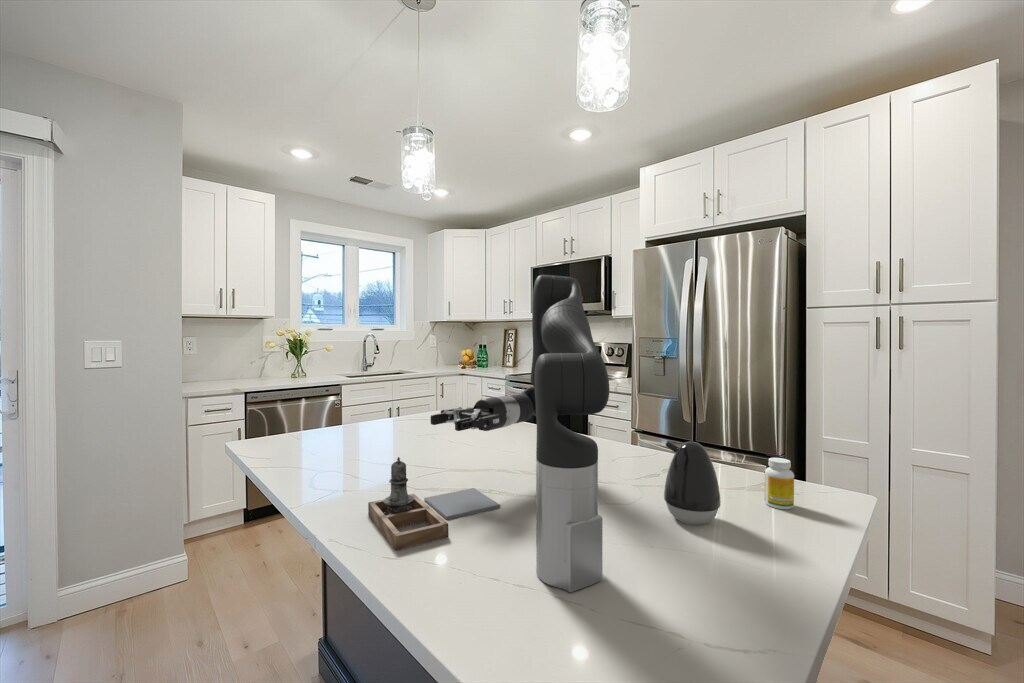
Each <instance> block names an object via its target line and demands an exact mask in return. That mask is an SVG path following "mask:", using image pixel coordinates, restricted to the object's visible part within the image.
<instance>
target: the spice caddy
mask: <svg viewBox="0 0 1024 683" xmlns="http://www.w3.org/2000/svg"><path fill="white" fill-rule="evenodd" d="M408 495H411V496H413V497H414V500H413V502H412V506H411V508H410V510H409V511H405V512H401V513H396V514H391V515H388V514H386V515H385V513H384V512H386V513H389V512H388V511H387V509H386V507H385V504H384V502H383V501H384V499H385V498H384V499H379V500H378V499H377V500H375V501H369V502H367V503H368V504H367V506H368V508H367V510H368V514H367V515H368V516H369V515H370V516H369V517H370V518H371V520H372V519H373V520H372V521H373V523H374V524H375V523H376V524H375V525H376V526H377V528H378V527H379V528H378V529H379V530H380V531H381V533H382V534H383V536H384V537H385V538H386V540H387V541H388V542H389V544H390V545H391V546H392V548H393V549H394V550H395V551H399V550H404V549H407V548H411V547H415V546H420V545H423V544H427V543H431V542H435V541H439V540H443V539H446V538H449V523H448V522H447V521H446V519H445V518H443V517H441V516H440V514H439V513H438V512H437V511H435V510H434V509H433V508H432V507H431V506H430V505H429V504H427V503H426V502H425V501H424V500H422V499H421V498H420V497H419V496H418V495H416V494H415V493H411V494H408ZM425 522H426V523H427V526H423V527H419V528H414V529H409V530H406V531H405V530H404V531H401V532H400V531H399V530H398V529H399V528H403V527H408V526H413V525H416V524H422V523H425Z"/></svg>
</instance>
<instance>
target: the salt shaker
mask: <svg viewBox="0 0 1024 683" xmlns="http://www.w3.org/2000/svg"><path fill="white" fill-rule="evenodd" d="M390 466H391V471H390V476H391V477H390V479H389V480H388V482H389V483H390V495H389V496H386V497H385V498H384V501H383V502H384V504H385V507H386V509H387V511H388V512H387V513H388V514H387V515H391V514H396V513H401V512H405V511H410V510H411V509H412V508H411V506H412V502H413V500H414V497H413V496H411V495H409V494H408V489H407V488H408V487H407V485H408V484H407V482H408V481H409V479H408V478H407V464H406V462H404V461H402V460H401V458H400V457H399V456H397V458H396V461H394V462H393V463H392V464H391V465H390Z"/></svg>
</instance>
